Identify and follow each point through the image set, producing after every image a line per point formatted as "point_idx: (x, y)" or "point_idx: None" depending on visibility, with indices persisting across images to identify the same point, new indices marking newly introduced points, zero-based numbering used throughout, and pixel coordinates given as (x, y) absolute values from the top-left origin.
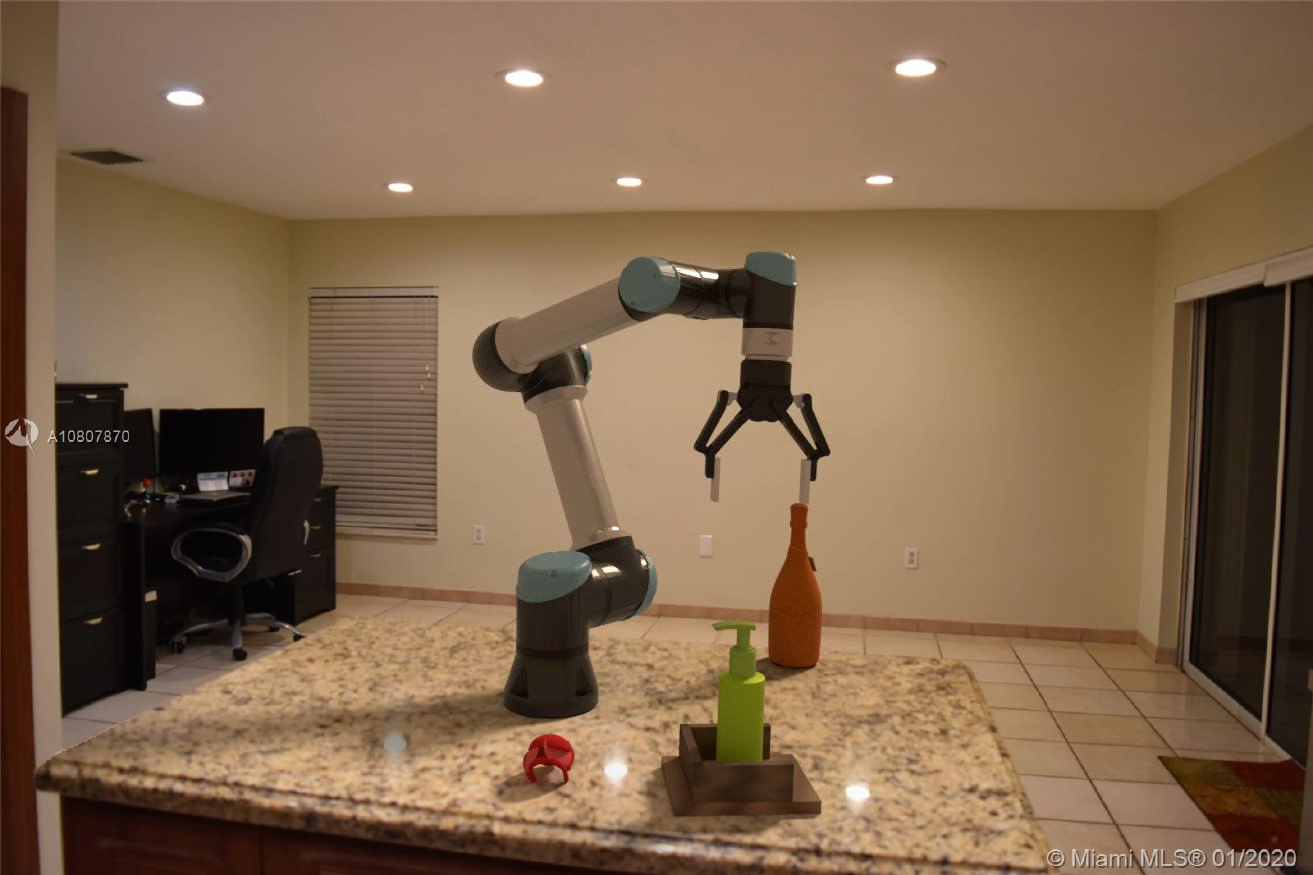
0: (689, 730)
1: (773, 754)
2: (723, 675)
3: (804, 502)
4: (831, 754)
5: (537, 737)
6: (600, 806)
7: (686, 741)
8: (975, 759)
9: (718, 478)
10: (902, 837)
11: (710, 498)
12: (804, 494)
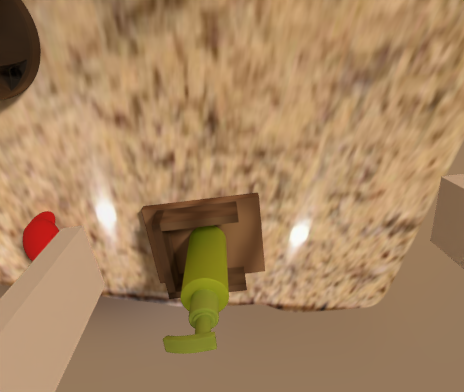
0: (161, 238)
1: (241, 199)
2: (185, 302)
3: (436, 244)
4: (298, 168)
5: (26, 250)
6: (108, 268)
7: (160, 259)
8: (427, 167)
9: (61, 364)
10: (308, 287)
11: (61, 232)
12: (457, 263)
